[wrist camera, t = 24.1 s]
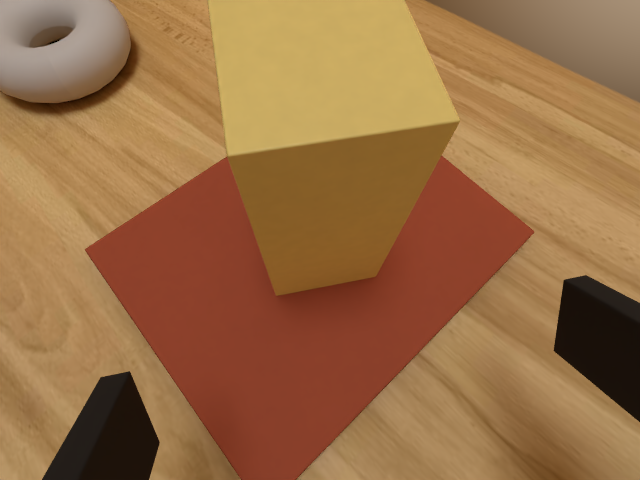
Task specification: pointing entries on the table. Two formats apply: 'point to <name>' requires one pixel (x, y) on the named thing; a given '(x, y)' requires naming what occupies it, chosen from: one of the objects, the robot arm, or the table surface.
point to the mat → (294, 311)
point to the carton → (327, 129)
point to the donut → (60, 48)
